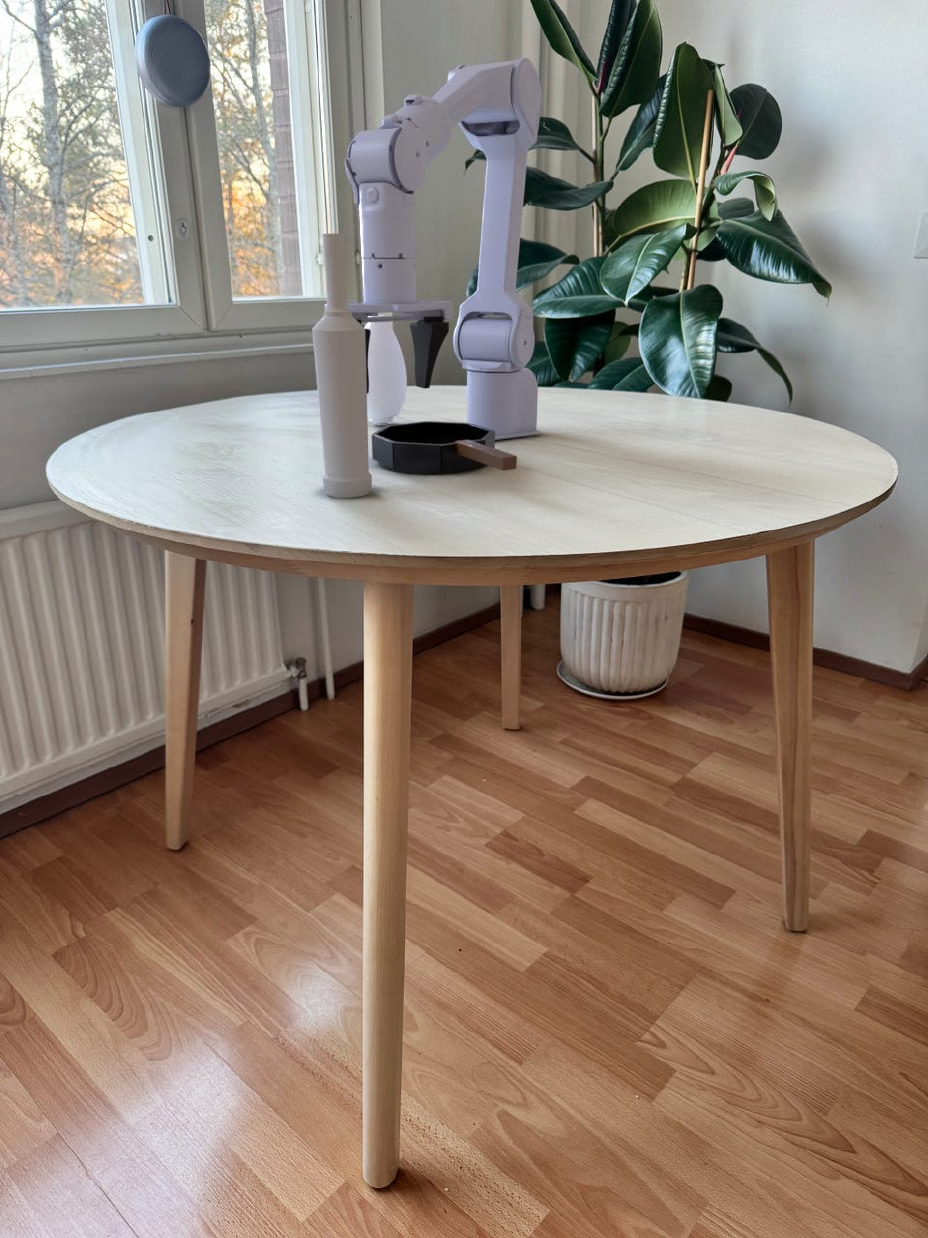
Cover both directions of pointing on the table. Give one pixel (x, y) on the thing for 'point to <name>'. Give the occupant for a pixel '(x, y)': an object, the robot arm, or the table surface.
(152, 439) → the table surface
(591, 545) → the table surface
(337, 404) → the bottle
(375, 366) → the sauce bottle
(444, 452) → the pan
